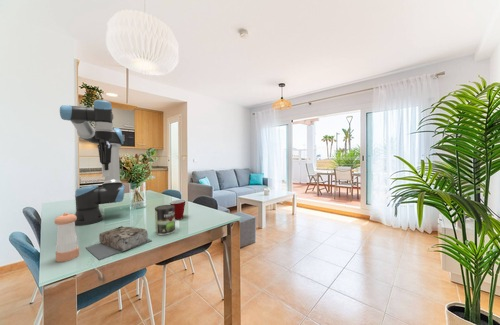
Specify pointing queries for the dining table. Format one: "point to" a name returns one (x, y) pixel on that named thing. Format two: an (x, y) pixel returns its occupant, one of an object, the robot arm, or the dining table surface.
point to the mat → (106, 250)
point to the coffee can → (165, 219)
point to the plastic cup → (178, 208)
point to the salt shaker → (66, 238)
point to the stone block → (123, 237)
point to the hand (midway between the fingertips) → (105, 176)
